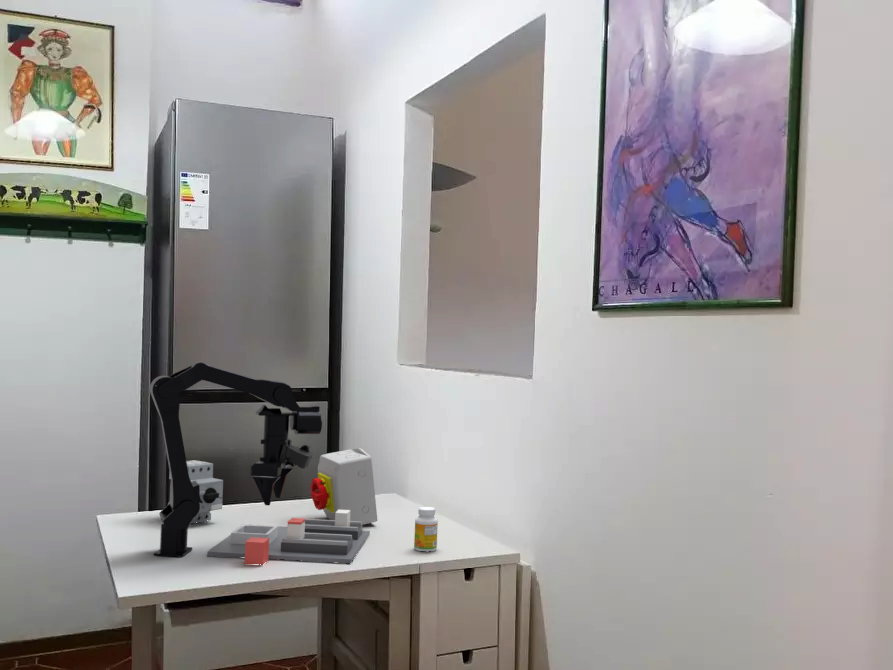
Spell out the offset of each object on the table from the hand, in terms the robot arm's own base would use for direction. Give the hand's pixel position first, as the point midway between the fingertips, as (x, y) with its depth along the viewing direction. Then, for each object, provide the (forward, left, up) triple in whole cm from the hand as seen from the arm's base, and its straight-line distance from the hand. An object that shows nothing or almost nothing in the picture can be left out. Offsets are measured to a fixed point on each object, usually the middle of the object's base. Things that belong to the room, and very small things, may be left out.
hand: (272, 501), depth 189 cm
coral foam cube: (-14, -1, -11) cm, 18 cm away
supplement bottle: (+5, -36, -11) cm, 38 cm away
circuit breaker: (+20, +25, -11) cm, 34 cm away
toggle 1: (-4, -7, -7) cm, 11 cm away
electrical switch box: (+28, -11, -11) cm, 32 cm away
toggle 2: (+10, -15, -7) cm, 19 cm away
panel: (+2, -5, -10) cm, 12 cm away
